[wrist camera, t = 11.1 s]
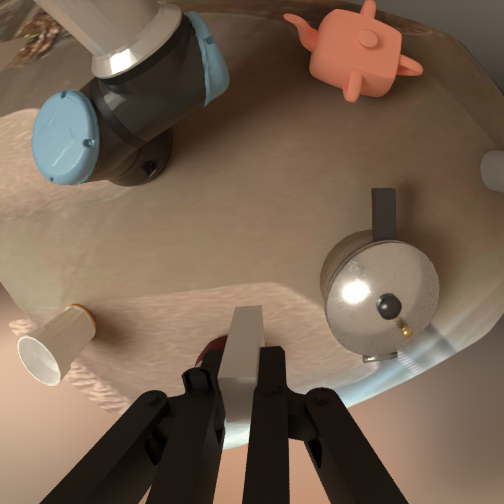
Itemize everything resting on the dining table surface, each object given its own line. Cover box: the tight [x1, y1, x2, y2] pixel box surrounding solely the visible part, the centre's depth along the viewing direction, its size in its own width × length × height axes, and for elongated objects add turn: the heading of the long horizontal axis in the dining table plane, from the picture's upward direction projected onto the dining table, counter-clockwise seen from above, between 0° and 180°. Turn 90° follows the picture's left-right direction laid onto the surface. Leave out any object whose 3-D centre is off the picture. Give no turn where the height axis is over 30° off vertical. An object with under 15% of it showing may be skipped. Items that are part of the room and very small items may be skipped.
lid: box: [326, 242, 440, 363], centre depth 43 cm, size 20×19×3 cm
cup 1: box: [18, 304, 96, 386], centre depth 53 cm, size 11×11×17 cm
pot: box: [320, 188, 422, 356], centre depth 49 cm, size 28×19×10 cm
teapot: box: [283, 0, 423, 103], centre depth 38 cm, size 17×16×13 cm
